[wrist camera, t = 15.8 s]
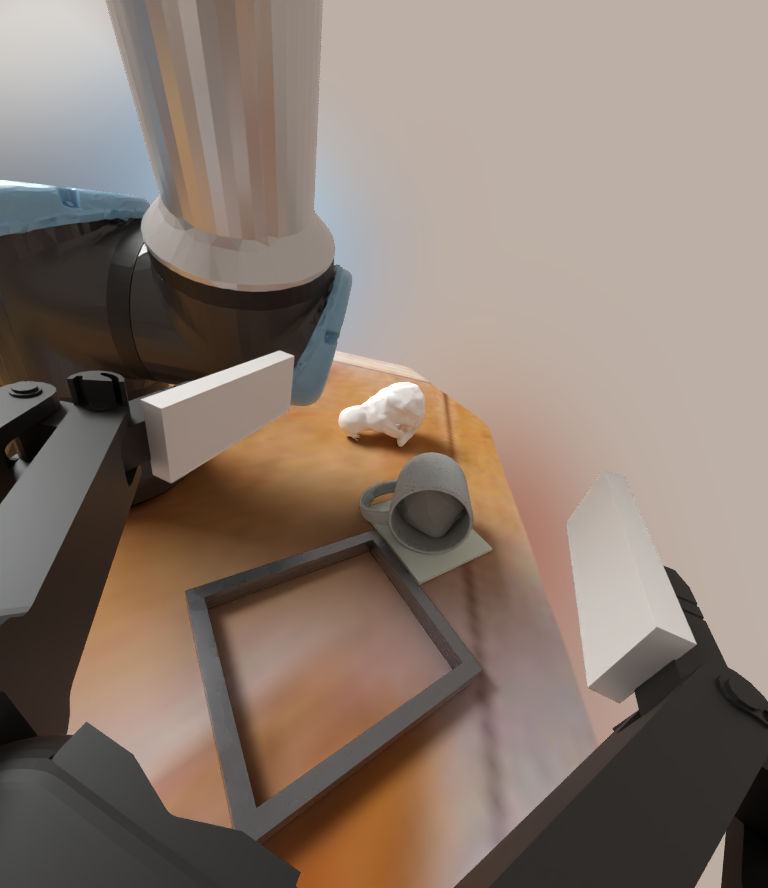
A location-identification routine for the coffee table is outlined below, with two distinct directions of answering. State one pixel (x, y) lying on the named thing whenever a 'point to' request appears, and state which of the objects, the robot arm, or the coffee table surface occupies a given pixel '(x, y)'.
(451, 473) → the ceramic mug
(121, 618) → the coffee table surface
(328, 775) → the square frame
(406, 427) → the white figurine
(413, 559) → the grey-green mat
